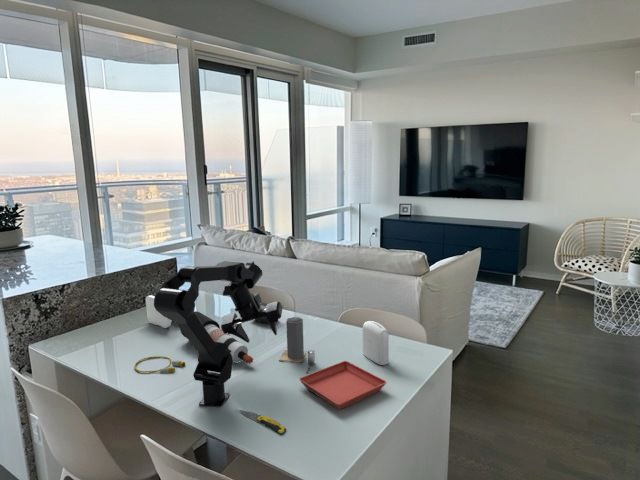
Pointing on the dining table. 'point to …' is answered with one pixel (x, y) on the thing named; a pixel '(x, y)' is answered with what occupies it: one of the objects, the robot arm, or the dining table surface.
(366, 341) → the photo printer
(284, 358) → the tan pad
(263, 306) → the end cap
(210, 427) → the dining table surface
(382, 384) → the plant saucer
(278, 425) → the utility knife
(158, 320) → the cable organizer
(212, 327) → the cable
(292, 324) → the octagonal tapered tumbler
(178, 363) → the extension cord
